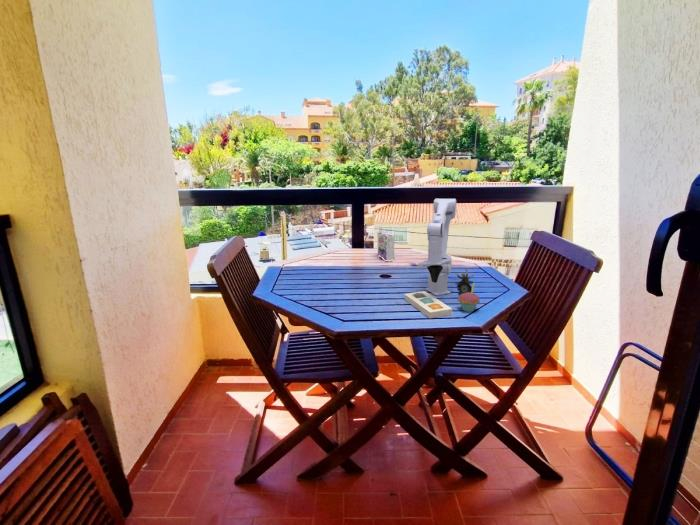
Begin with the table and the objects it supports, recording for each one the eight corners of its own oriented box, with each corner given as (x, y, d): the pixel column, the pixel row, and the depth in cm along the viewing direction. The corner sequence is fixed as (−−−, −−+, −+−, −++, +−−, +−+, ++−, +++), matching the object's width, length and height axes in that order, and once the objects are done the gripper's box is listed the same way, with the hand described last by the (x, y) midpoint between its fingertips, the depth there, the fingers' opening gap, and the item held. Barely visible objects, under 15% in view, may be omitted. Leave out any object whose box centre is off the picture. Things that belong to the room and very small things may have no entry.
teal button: (419, 304, 167) (419, 298, 166) (428, 303, 168) (429, 297, 168) (424, 308, 163) (424, 302, 162) (434, 306, 164) (434, 300, 164)
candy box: (377, 256, 249) (377, 231, 245) (385, 256, 251) (385, 230, 247) (385, 262, 237) (385, 235, 232) (394, 261, 238) (394, 234, 234)
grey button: (412, 299, 173) (412, 293, 173) (421, 297, 175) (421, 292, 174) (416, 302, 169) (417, 296, 169) (426, 301, 171) (426, 295, 170)
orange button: (427, 310, 161) (427, 304, 160) (437, 308, 162) (437, 303, 161) (433, 314, 157) (433, 308, 156) (442, 312, 158) (443, 306, 157)
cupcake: (474, 305, 166) (475, 278, 162) (482, 312, 158) (484, 284, 154) (454, 306, 165) (455, 279, 162) (462, 314, 157) (463, 285, 154)
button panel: (404, 299, 175) (404, 293, 174) (424, 296, 178) (424, 291, 177) (429, 318, 154) (429, 312, 153) (452, 314, 157) (452, 308, 156)
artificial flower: (453, 298, 178) (448, 276, 178) (461, 288, 199) (456, 269, 198) (472, 295, 174) (468, 273, 174) (479, 285, 195) (474, 266, 194)
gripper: (424, 255, 158) (423, 286, 162) (455, 251, 162) (454, 282, 166) (416, 251, 165) (415, 281, 168) (446, 247, 169) (445, 277, 172)
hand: (434, 281), depth 167 cm, fingers closed
